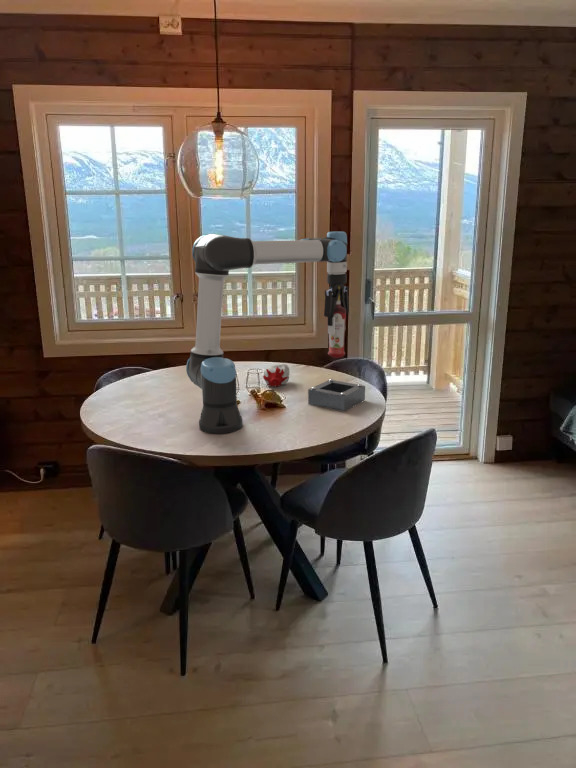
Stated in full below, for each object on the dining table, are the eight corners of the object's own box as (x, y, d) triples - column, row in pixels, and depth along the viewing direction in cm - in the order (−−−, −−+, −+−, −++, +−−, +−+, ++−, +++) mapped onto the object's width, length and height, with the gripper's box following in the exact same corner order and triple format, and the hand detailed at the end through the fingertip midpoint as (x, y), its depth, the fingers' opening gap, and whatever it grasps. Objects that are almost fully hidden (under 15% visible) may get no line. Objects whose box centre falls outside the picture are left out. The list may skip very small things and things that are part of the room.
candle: (289, 379, 258) (289, 393, 244) (264, 379, 258) (262, 393, 244) (289, 360, 254) (288, 373, 241) (263, 360, 255) (261, 373, 241)
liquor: (327, 359, 231) (328, 287, 223) (326, 354, 238) (326, 285, 230) (346, 358, 231) (347, 287, 223) (344, 354, 238) (345, 284, 230)
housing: (344, 411, 218) (344, 394, 216) (308, 404, 227) (308, 387, 225) (364, 400, 230) (365, 384, 228) (329, 393, 239) (330, 378, 237)
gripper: (331, 276, 215) (331, 337, 222) (358, 271, 230) (357, 328, 237) (314, 275, 219) (314, 335, 226) (342, 270, 235) (342, 326, 241)
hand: (336, 331), depth 231 cm, fingers closed on liquor, 7 cm apart
